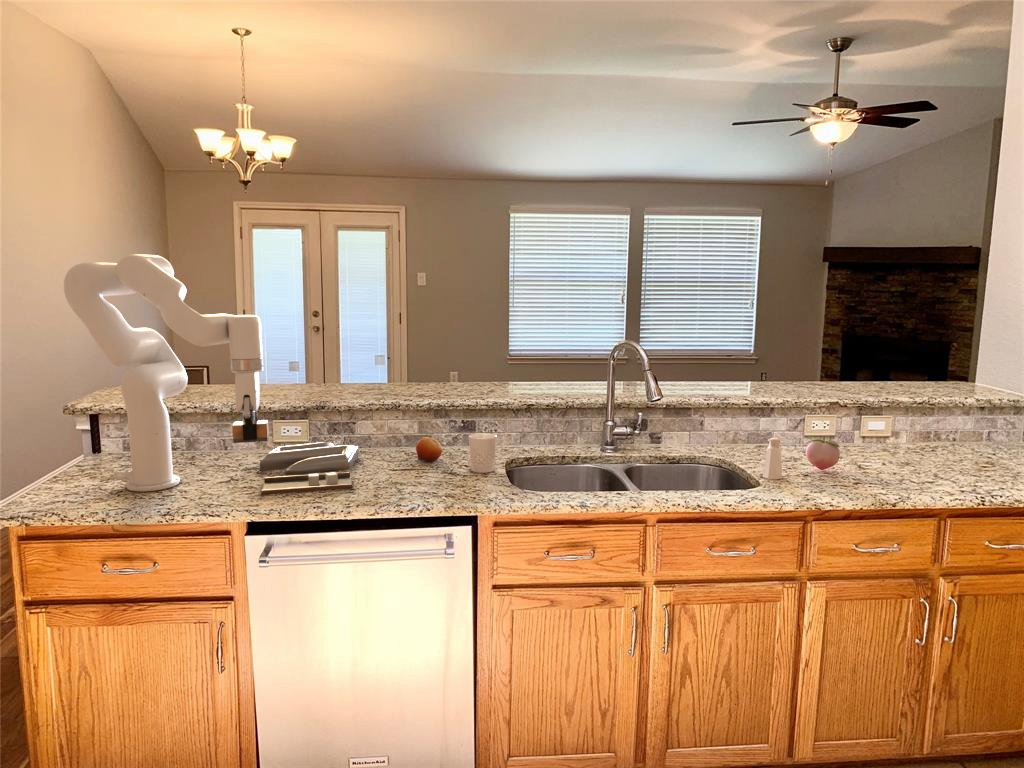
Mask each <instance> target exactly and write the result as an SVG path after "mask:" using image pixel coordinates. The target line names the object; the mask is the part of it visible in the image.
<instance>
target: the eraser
mask: <svg viewBox="0 0 1024 768" xmlns="http://www.w3.org/2000/svg"><path fill="white" fill-rule="evenodd" d="M242 424H243V420H242V421H234V422H233V423H232V425H231V426H232V427H231V428H232V441H233V442H232V443H233V444H243V443H257V442H258V443H259V442H261V443H262V442H268V441H269V438H270V434H269V432H270V431H269V420H268V419H261V420H258V421H255V424H256V426H257V439H256V440H243V427H242Z"/></svg>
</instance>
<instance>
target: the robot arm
mask: <svg viewBox="0 0 1024 768" xmlns="http://www.w3.org/2000/svg"><path fill="white" fill-rule="evenodd" d="M174 275H175V271H174V268H173V266H172V264H171V263H170V261H168V260H167V259H166V258H165V257H163V256H160V255H158V254H157V255H156V254H141V253H140V254H139V253H134V254H127V255H125V256H123V257H122V258H120V259H119V260H118V262H99V261H98V262H97V261H96V262H95V261H89V262H82V263H78V264H74V266H72V267H70V268H69V269H68V270H67V272H66V273H65V277H64V281H63V292H64V297H65V299H66V301H67V303H68V305H69V306H70V309H72V311H73V312H74V314H76V316H77V317H78V318H79V320H80V321H81V322H82V323H83V325H85V327H86V329H87V330H88V332H89V334H90V335H91V337H92V338H93V340H94V341H95V342H96V344H97V345H98V347H99V349H100V350H101V351H102V353H103V354H104V356H105V357H106V358H107V360H108V361H109V362H110V363H111V364H112V365H113V366H116V367H130V366H131V368H130V369H128V370H127V371H126V372H125V373H123V376H122V377H121V381H120V391H121V394H122V397H123V401H124V404H125V409H126V415H127V426H128V427H127V428H128V441H129V455H130V466H131V468H130V469H127V470H124V471H122V470H119V471H117V470H116V471H114V472H113V480H116V481H125V480H126V481H127V482H125V489H127V490H129V491H132V492H154V491H155V492H156V491H162V490H166V489H170V488H172V487H175V486H177V485H178V484H180V482H181V478H180V476H179V475H176V474H174V470H173V468H174V467H173V453H172V439H171V438H172V437H171V436H172V435H171V425H170V424H171V422H170V415H169V411H168V409H167V407H166V405H165V404H164V402H163V400H164V399H169V398H172V397H175V396H178V395H180V394H182V393H183V392H184V391H185V390H186V388H187V386H188V380H189V379H188V375H187V372H186V369H185V367H184V366H183V364H182V363H181V361H180V359H179V358H178V357H177V355H176V354H175V352H174V351H173V350H172V348H171V346H170V345H169V343H168V342H167V340H166V339H165V338H164V337H163V335H162V334H160V333H159V332H158V331H157V330H155V329H153V328H149V327H135V328H134V327H132V326H130V324H128V323H129V322H127V320H126V319H125V318H124V317H123V314H122V313H121V312H120V310H119V309H117V307H116V306H114V305H113V304H112V303H110V302H109V301H108V300H106V299H105V298H104V297H111V296H112V297H114V296H128V295H134V294H137V295H139V296H140V297H141V298H143V299H144V300H145V301H148V303H150V304H151V305H152V306H154V307H155V308H157V309H158V310H159V312H160V315H161V318H162V319H163V321H164V323H165V324H166V326H167V327H168V328H169V329H170V330H171V331H172V332H174V333H175V334H176V335H178V336H179V337H181V338H182V339H183V340H185V341H187V342H188V343H190V344H192V345H195V346H197V347H211V346H218V345H225V344H229V346H228V347H229V360H230V372H231V373H233V374H235V375H234V392H235V396H234V397H235V412H236V413H237V414H239V413H240V412H241V411H242V421H243V424H242V427H243V440H256V439H257V426H256V424H255V421H259V419H258V410H259V408H260V399H261V397H260V396H261V395H260V392H261V391H260V390H261V389H260V374H259V373H260V372H264V357H263V356H264V354H263V339H262V338H263V337H262V322H261V321H262V320H261V319H260V317H259V316H257V315H254V314H237V315H235V314H229V313H214V314H213V313H212V314H200V313H199V312H198V311H197V310H195V309H193V308H191V306H189V305H188V304H187V303H185V301H184V300H185V297H186V294H187V288H186V286H185V284H184V283H183V282H181V281H180V280H179V279H177V278H176V277H174ZM132 366H134V367H132Z"/></svg>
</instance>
